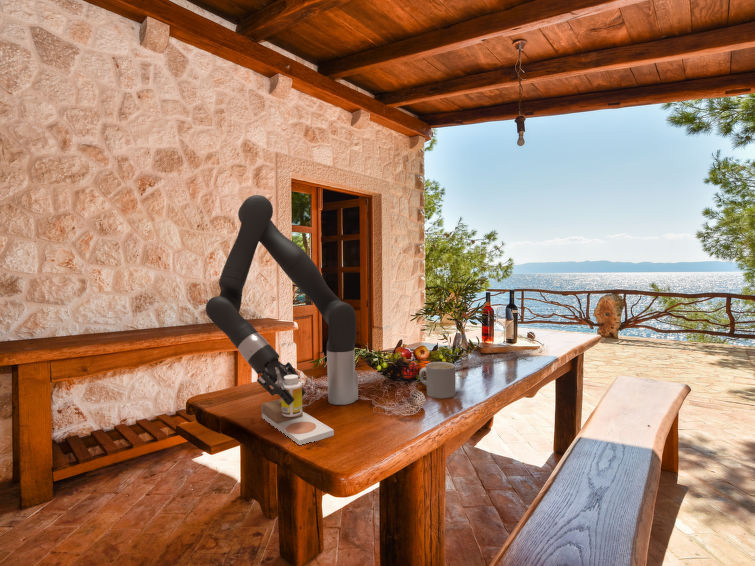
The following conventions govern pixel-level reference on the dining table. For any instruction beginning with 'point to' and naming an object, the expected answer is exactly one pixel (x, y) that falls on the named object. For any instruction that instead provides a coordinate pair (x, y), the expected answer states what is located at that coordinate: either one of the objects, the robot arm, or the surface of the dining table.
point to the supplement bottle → (295, 390)
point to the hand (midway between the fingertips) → (297, 398)
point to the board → (302, 428)
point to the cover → (276, 411)
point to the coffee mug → (439, 379)
